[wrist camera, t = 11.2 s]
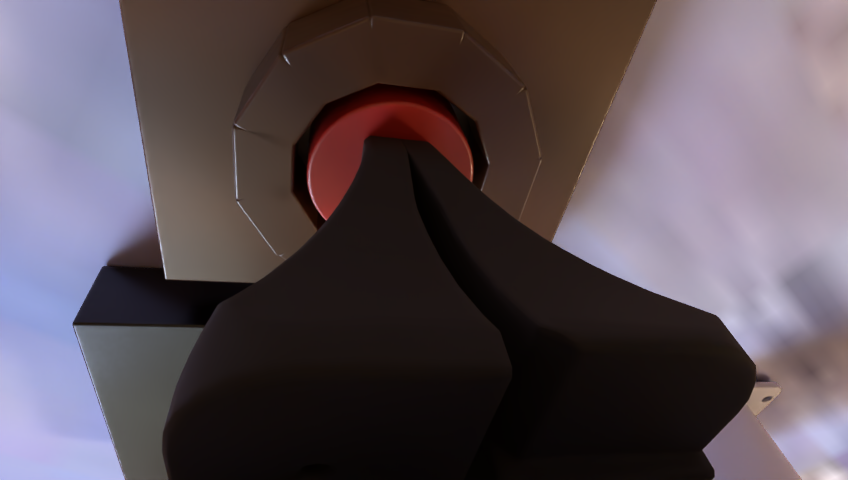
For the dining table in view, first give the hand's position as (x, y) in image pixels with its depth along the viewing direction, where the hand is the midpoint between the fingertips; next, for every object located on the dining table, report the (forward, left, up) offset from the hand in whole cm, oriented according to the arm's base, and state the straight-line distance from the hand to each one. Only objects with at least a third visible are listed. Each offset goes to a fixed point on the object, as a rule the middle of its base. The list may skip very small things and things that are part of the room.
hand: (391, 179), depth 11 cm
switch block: (0, 0, -4) cm, 4 cm away
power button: (0, 0, -2) cm, 2 cm away
